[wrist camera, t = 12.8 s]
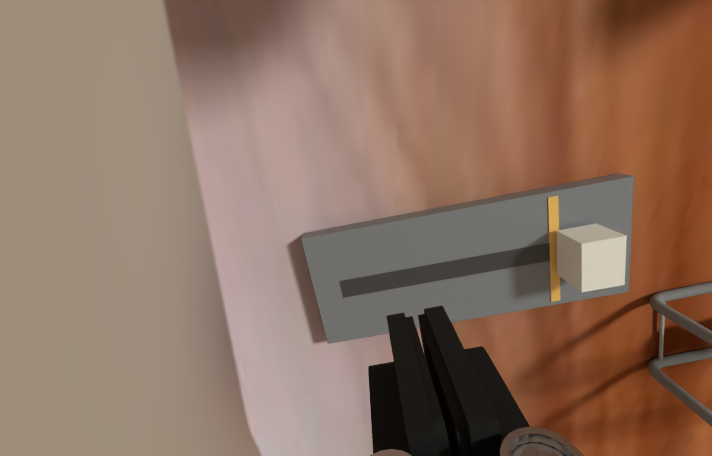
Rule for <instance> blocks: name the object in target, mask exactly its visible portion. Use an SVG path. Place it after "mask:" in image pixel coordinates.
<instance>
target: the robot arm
mask: <svg viewBox="0 0 712 456" xmlns="http://www.w3.org/2000/svg"><path fill="white" fill-rule="evenodd" d="M386 317H387V323H388V329H389V335H390V341H391V346H392V352H393V358H394V362H390V363H384V364H378V365H373V366H369V388H370V405H371V422H372V439H373V454H372V455H370V456H584V455H583V454H582V453H581V452H580V451H579V450H578V449H577V448H576V447H575V446H574V445H573V444H572V443H571V442H570V441H569V440H567V439H566V438H564V437H562V436H560V435H559V434H557V433H555V432H553V431H550V430H547V429H544V428H538V427H530V426H529V424H528V422H527V421H526V419H525V417H524V416H523V414H522V412H521V410H520V409H519V407H518V405H517V403H516V402H515V400H514V398H513V397H512V395H511V393H510V391H509V390H508V388H507V386H506V385H505V383H504V381H503V379H502V378H501V376H500V374H499V373H498V371H497V369H496V367H495V366H494V364H493V362H492V360H491V359H490V357H489V355H488V354H487V352H486V350H485V349H484V348H483V347H482V346H481V347H475V348H470V349H464V348H463V346H462V344H461V342H460V340H459V338H458V336H457V334H456V331H455V329H454V327H453V325H452V323H451V321H450V319H449V317H448V315H447V313H446V311H445V309H444V307H443V306H437V307H431V308H426V309H424V314H421V315H418V320H419V326H420V331H421V337H422V343H423V349H424V352H423V349H422V346H421V343H420V339H419V336H418V333H417V329H416V326H415V323H414V320H413V316H410V317H405V314H404V313H398V314H393V315H387V316H386ZM424 355H425V356H424Z"/></svg>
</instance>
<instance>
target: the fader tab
mask: <svg viewBox="0 0 712 456" xmlns="http://www.w3.org/2000/svg"><path fill="white" fill-rule="evenodd" d="M556 235H557V275H559V276H560V277H561V278H563V279H564V280H565V281H567V282H568V283H570V284H571V285H572V286H574V287H575V288H576V289H578V290H579V291H581V292H587V291H593V290H598V289H604V288H610V287H616V286H621V285H625V264H626V240H627V236H626V235H624V234H621V233H619V232H616V231H614V230H611V229H609V228H606V227H604V226H601V225H599V224H590V225H585V226H579V227H574V228H568V229H563V230H557V231H556Z"/></svg>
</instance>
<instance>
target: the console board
mask: <svg viewBox="0 0 712 456" xmlns="http://www.w3.org/2000/svg"><path fill="white" fill-rule="evenodd" d="M633 183H634V176H630V175H624V174H613V175H608V176H603V177H597V178H592V179H587V180H582V181H576V182H571V183H566V184H561V185H555V186H550V187H545V188H540V189H534V190H529V191H524V192H519V193H513V194H508V195H503V196H497V197H492V198H487V199H482V200H476V201H471V202H466V203H461V204H455V205H450V206H445V207H440V208H434V209H429V210H424V211H419V212H413V213H408V214H403V215H398V216H392V217H387V218H382V219H376V220H371V221H366V222H361V223H355V224H350V225H345V226H340V227H334V228H329V229H324V230H319V231H313V232H308V233H304V234H303V236H302V238H301V241H302V245H303V249H304V253H305V257H306V261H307V264H308V268H309V272H310V276H311V280H312V284H313V288H314V292H315V296H316V299H317V303H318V307H319V311H320V315H321V319H322V323H323V327H324V331H325V334H326V338H327V342H328V344H329V343H335V342H341V341H347V340H352V339H358V338H364V337H370V336H376V335H381V334H387V333H389V329H388V323H387V317H386V316H387V315H393V314H398V313H404V314H405V317H410V316H413V320H414V323H415V326H416V328H420V326H419V320H418V315H421V314H424V309H426V308H431V307H437V306H443V307H444V309H445V311H446V313H447V315H448V317H449V319H450V321H451V322H457V321H462V320H468V319H474V318H480V317H486V316H491V315H497V314H503V313H509V312H515V311H520V310H526V309H532V308H538V307H544V306H549V305H555V304H561V303H567V302H572V301H578V300H584V299H590V298H596V297H601V296H607V295H613V294H619V293H625V292H629V272H630V250H631V228H632V205H633ZM590 224H599V225H601V226H604V227H606V228H609V229H611V230H614V231H616V232H619V233H621V234H624V235H626V236H627V240H626V264H625V285H621V286H616V287H610V288H604V289H598V290H593V291H587V292H581V291H579V290H578V289H576V288H575V287H574V286H572V285H571V284H570V283H568V282H567V281H565V280H564V279H563V278H561V277H560V276H559V275H557V235H556V231H557V230H563V229H568V228H574V227H579V226H585V225H590Z"/></svg>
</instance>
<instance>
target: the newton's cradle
mask: <svg viewBox="0 0 712 456" xmlns="http://www.w3.org/2000/svg"><path fill="white" fill-rule="evenodd" d="M710 292H712V282H707V283H702V284H698V285H693V286H688V287H683V288H678V289H673V290H668V291H663V292H659V293H656V294H654V295H653V296H651V297H650V301H649V303H650V305H651V307H652V308H653V309H654V310H656V311H657V312H658V313H660V333H659V358H655V359H652V360H651V361H650V362H649V364H648V370H649V373H650V374H651V375H652V376H653V377H654V378H655V379H656V380H657V381H658V382H659V383H661V384H662V385H663V386H664V387H665V388H667V389H668V390H669V391H670V392H671V393H672V394H674V395H675V396H676V397H677V398H678V399H680V400H681V401H682V402H683V403H684V404H686V405H687V406H688V407H689V408H690V409H692V410H693V411H694V412H695V413H696V414H697V415H699V416H700V417H701V418H702V419H703V420H705V421H706V422H707V423H708V424H709V425H711V426H712V412H711V411H710V410H709V409H707V408H706V407H705V406H704V405H702V404H701V403H700V402H699V401H697V400H696V399H695V398H694V397H692V396H691V395H690V394H689V393H687V392H686V391H685V390H684V389H682V388H681V387H680V386H679V385H677V384H676V383H675V382H674V381H672V380H671V379H670V378H669V377H667V376H666V375H665V374H664V373H662V372H661V371H660V368H662V367H667V366H672V365H677V364H682V363H688V362H693V361H698V360H704V359H709V358H712V347H711V348H706V349H700V350H695V351H690V352H685V353H679V354H674V355H669V356H664V357H663V344H664V318H665V317H666V318H668V319H670V320H671V321H673V322H675V323H676V324H678V325H680V326H681V327H683V328H684V329H686V330H688V331H689V332H691V333H693V334H694V335H696V336H697V337H699V338H701V339H702V340H704V341H706V342H707V343H709V344H710V345H712V331H710V330H709V329H707V328H705V327H704V326H702V325H700V324H698V323H697V322H695V321H693V320H691V319H690V318H688V317H686V316H684V315H683V314H681V313H679V312H677V311H676V310H674V309H672V308H670V307H669V306H667V305H665V302H666V301H670V300H675V299H680V298H685V297H690V296H695V295H700V294H705V293H710Z"/></svg>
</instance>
